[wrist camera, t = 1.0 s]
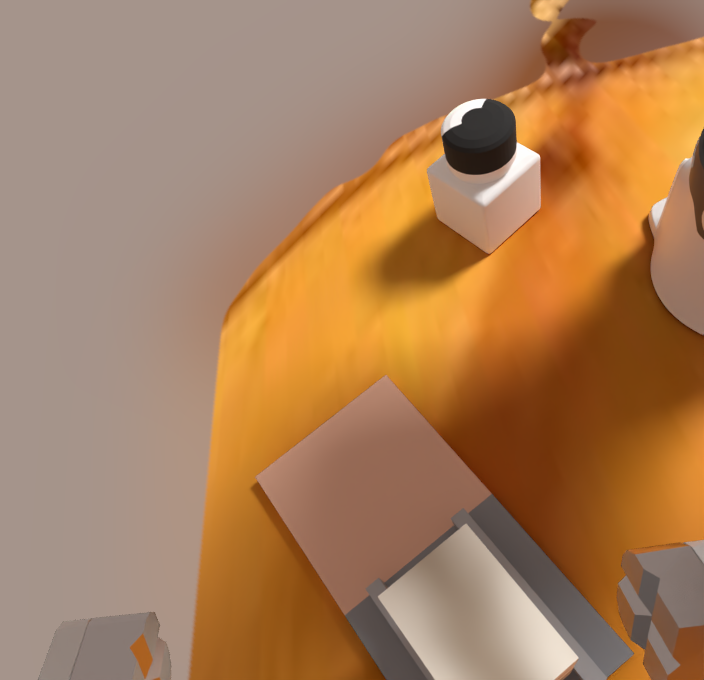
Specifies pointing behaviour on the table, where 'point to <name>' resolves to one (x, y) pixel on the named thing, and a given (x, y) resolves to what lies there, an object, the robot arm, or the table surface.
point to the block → (474, 617)
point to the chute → (411, 527)
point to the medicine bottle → (484, 175)
